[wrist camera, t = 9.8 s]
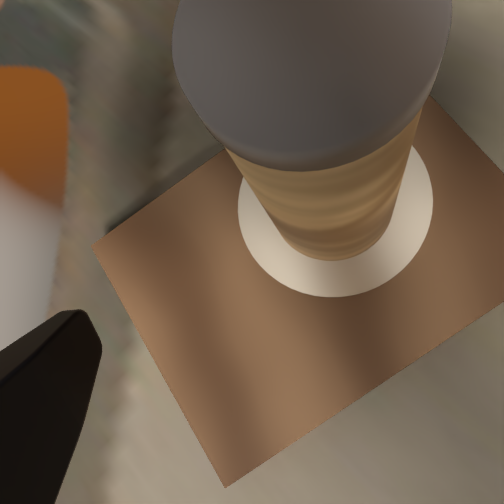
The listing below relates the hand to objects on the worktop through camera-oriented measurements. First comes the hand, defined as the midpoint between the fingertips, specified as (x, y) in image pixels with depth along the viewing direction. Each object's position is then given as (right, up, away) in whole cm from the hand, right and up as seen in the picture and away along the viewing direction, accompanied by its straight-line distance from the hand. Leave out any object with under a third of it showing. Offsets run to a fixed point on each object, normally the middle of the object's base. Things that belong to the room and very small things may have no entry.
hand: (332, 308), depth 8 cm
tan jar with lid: (+2, +3, +11) cm, 12 cm away
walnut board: (+1, +1, +13) cm, 13 cm away
